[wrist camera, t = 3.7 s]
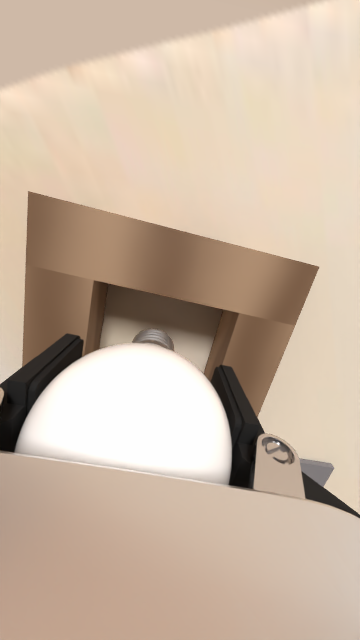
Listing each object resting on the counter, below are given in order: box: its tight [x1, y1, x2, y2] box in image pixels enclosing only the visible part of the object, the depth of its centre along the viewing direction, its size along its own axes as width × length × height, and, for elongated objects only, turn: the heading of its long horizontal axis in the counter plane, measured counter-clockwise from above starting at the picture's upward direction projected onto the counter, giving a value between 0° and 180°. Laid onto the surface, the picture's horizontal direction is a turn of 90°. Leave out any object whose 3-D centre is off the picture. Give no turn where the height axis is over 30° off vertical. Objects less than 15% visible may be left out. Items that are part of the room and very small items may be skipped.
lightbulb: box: [14, 328, 232, 485], centre depth 10 cm, size 6×6×11 cm
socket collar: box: [22, 191, 319, 417], centre depth 14 cm, size 14×14×3 cm
